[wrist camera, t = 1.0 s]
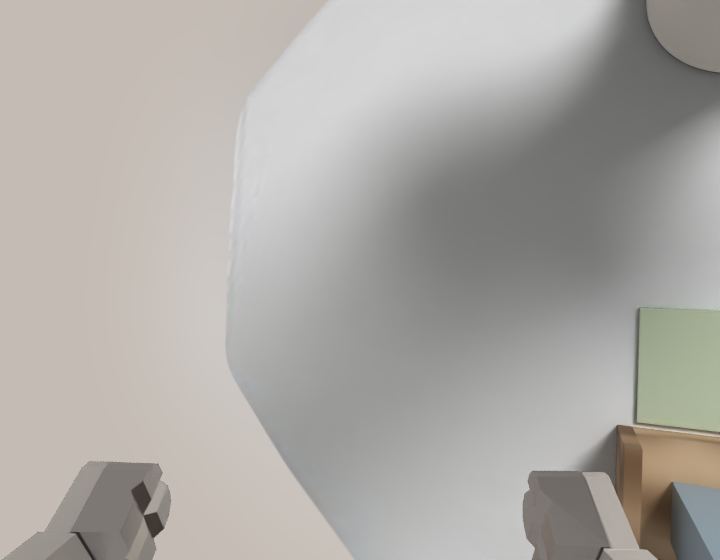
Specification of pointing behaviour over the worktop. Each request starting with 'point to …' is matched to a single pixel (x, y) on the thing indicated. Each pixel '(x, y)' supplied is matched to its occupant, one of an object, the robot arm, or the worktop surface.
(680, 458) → the brown wooden open box
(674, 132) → the worktop surface
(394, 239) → the worktop surface
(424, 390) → the worktop surface
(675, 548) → the block
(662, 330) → the mat
